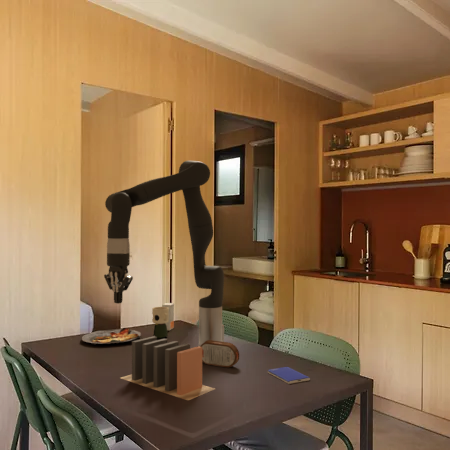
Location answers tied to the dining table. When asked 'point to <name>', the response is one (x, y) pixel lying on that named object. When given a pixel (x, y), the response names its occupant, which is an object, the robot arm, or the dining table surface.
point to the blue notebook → (288, 375)
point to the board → (186, 396)
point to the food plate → (111, 336)
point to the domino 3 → (161, 363)
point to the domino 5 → (189, 370)
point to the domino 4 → (172, 366)
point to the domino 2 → (149, 360)
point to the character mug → (160, 321)
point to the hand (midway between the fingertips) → (118, 303)
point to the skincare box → (170, 315)
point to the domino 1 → (139, 356)
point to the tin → (219, 353)
